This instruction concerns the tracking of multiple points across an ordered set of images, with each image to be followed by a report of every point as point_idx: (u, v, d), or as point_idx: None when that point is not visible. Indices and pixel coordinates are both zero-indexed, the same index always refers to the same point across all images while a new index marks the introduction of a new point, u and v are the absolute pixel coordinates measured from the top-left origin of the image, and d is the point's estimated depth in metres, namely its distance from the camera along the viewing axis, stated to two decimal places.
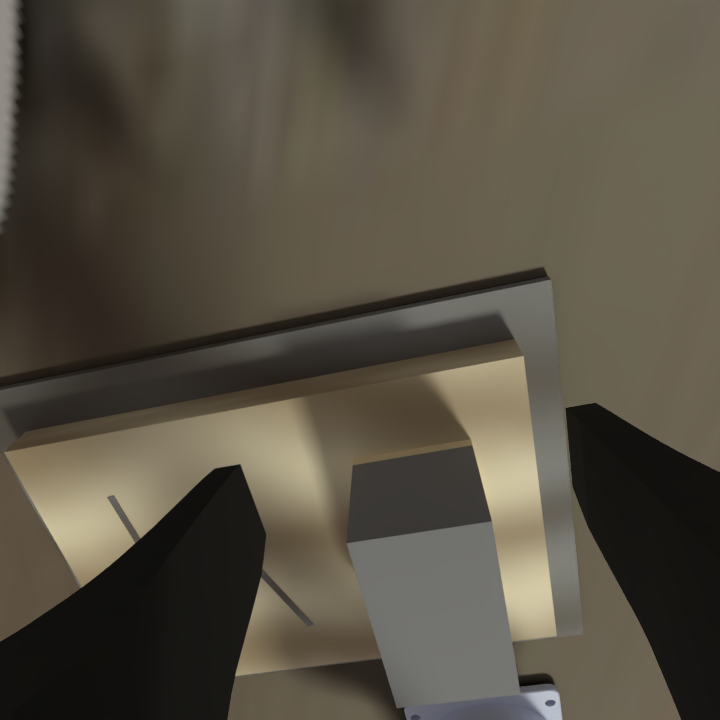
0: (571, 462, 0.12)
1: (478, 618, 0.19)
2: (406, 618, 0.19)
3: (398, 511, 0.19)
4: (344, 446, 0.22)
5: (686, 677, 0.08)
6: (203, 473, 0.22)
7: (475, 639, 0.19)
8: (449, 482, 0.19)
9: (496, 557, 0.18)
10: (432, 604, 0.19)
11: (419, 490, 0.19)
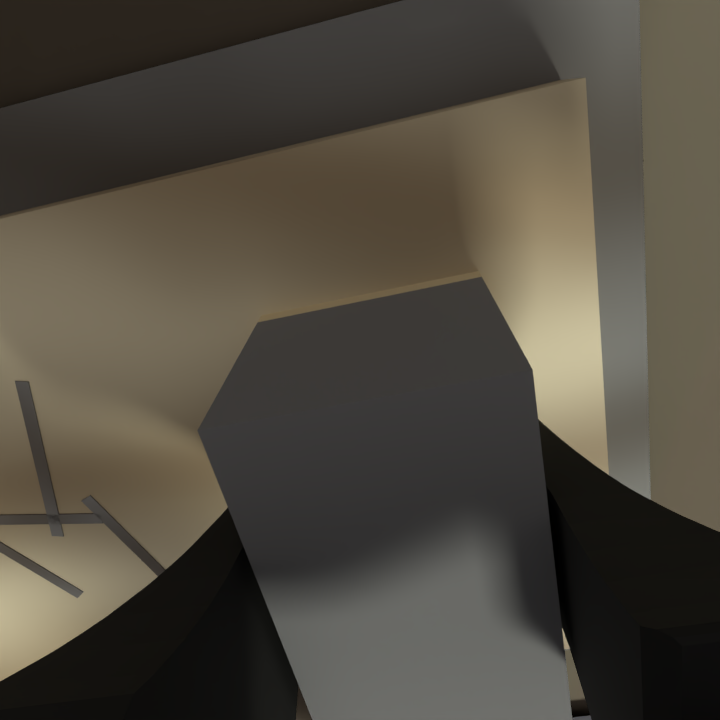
0: None
1: (497, 606, 0.09)
2: (343, 605, 0.09)
3: (323, 372, 0.09)
4: (243, 289, 0.12)
5: (593, 688, 0.08)
6: None
7: (488, 650, 0.09)
8: (435, 323, 0.09)
9: (539, 463, 0.08)
10: (397, 575, 0.09)
11: (373, 339, 0.09)
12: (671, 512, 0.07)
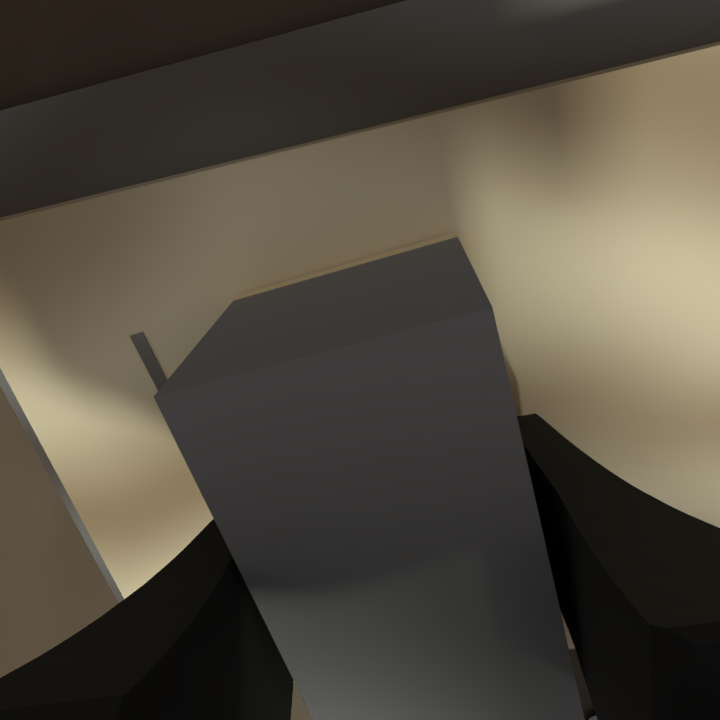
0: None
1: (484, 572, 0.08)
2: (324, 578, 0.09)
3: (285, 334, 0.08)
4: (609, 211, 0.11)
5: (599, 687, 0.08)
6: None
7: (480, 622, 0.09)
8: (404, 280, 0.09)
9: (511, 411, 0.07)
10: (375, 542, 0.08)
11: (339, 301, 0.09)
12: (678, 511, 0.07)
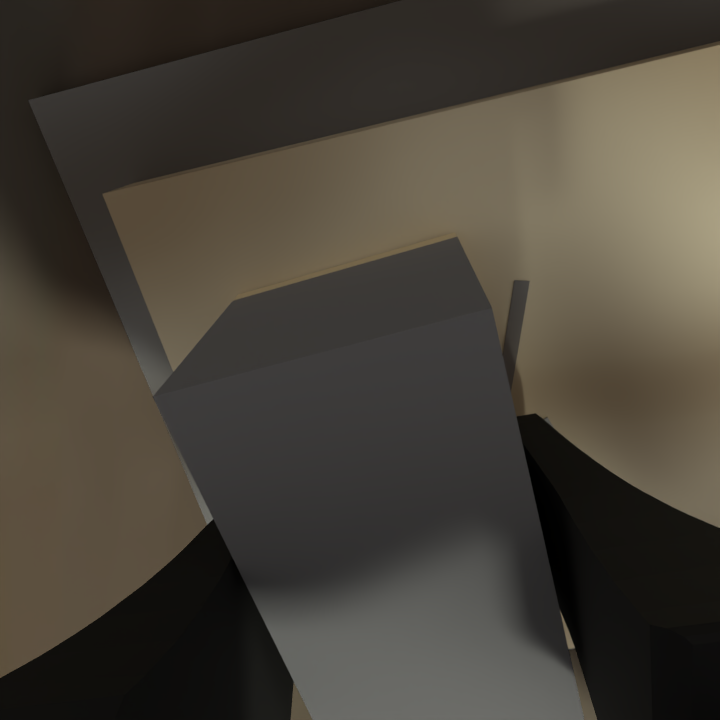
0: None
1: (484, 572, 0.08)
2: (323, 578, 0.09)
3: (285, 334, 0.08)
4: None
5: (599, 687, 0.08)
6: (507, 238, 0.11)
7: (479, 621, 0.09)
8: (403, 280, 0.09)
9: (511, 411, 0.07)
10: (375, 542, 0.08)
11: (339, 301, 0.09)
12: (678, 511, 0.07)
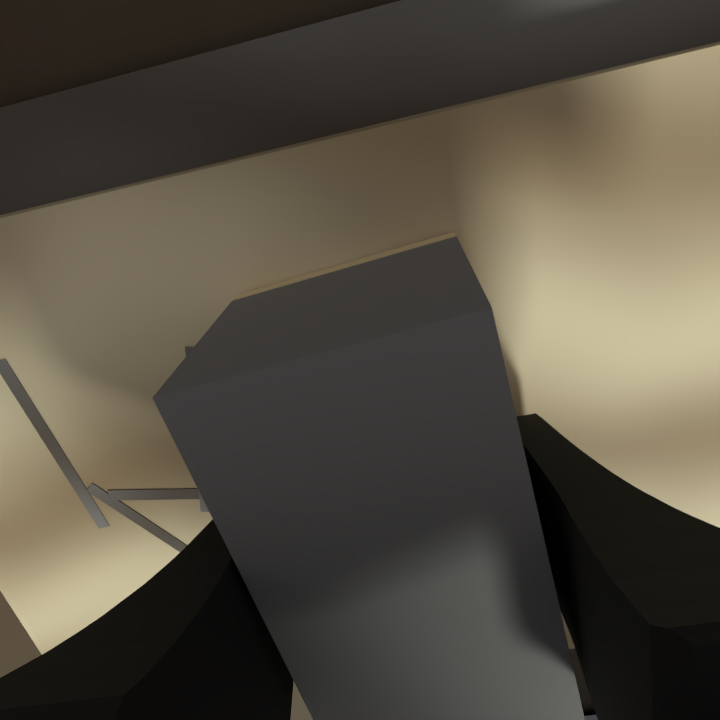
0: None
1: (484, 572, 0.08)
2: (324, 578, 0.09)
3: (284, 334, 0.08)
4: None
5: (599, 687, 0.08)
6: (169, 309, 0.12)
7: (480, 621, 0.09)
8: (402, 280, 0.09)
9: (511, 411, 0.07)
10: (375, 543, 0.08)
11: (338, 301, 0.09)
12: (678, 511, 0.07)
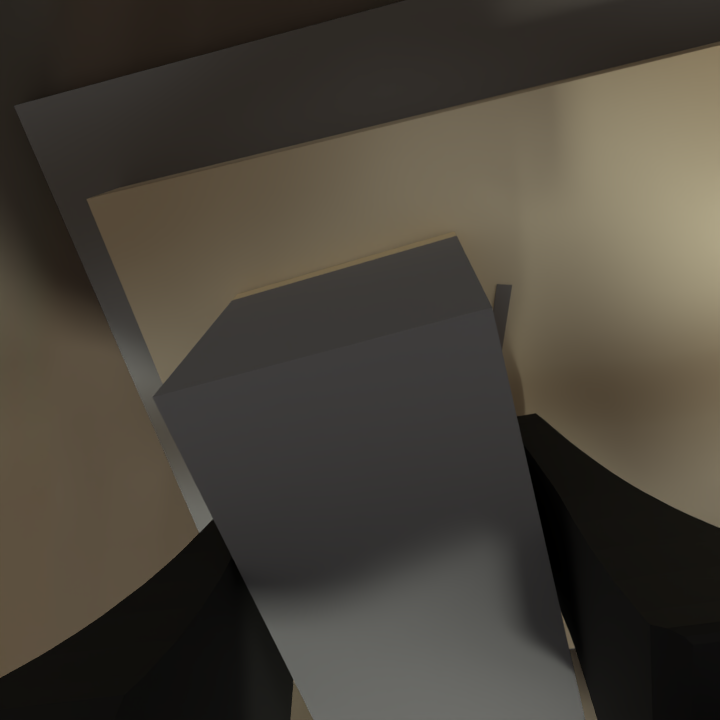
0: None
1: (484, 571, 0.08)
2: (324, 579, 0.09)
3: (284, 334, 0.08)
4: None
5: (599, 687, 0.08)
6: (489, 242, 0.11)
7: (481, 620, 0.09)
8: (402, 279, 0.09)
9: (511, 410, 0.07)
10: (375, 542, 0.08)
11: (338, 301, 0.09)
12: (678, 511, 0.07)
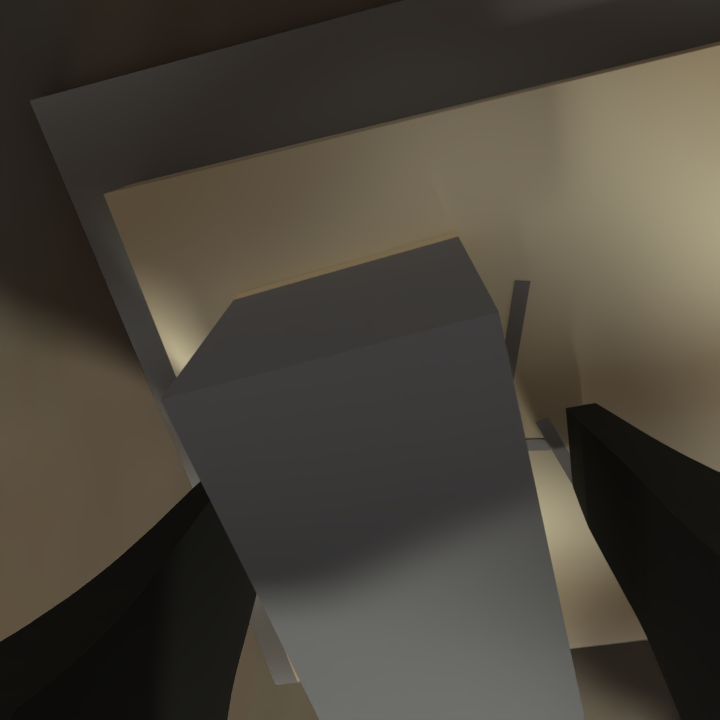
0: (571, 462, 0.12)
1: (487, 570, 0.09)
2: (329, 577, 0.09)
3: (290, 336, 0.08)
4: None
5: (686, 677, 0.08)
6: (508, 238, 0.11)
7: (482, 617, 0.09)
8: (406, 281, 0.09)
9: (516, 413, 0.07)
10: (380, 541, 0.08)
11: (343, 302, 0.09)
12: None
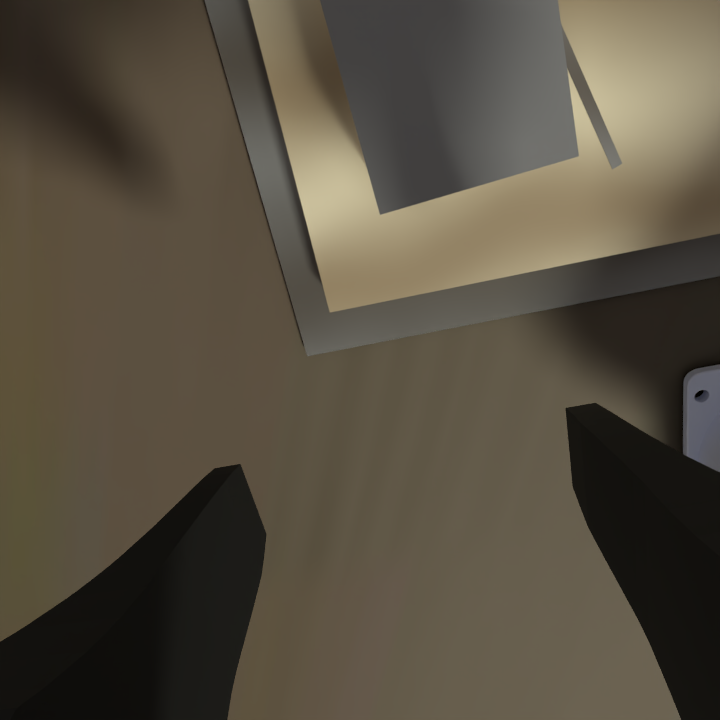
0: (571, 462, 0.12)
1: None
2: None
3: None
4: None
5: (686, 677, 0.08)
6: None
7: (496, 19, 0.11)
8: None
9: None
10: None
11: None
12: None
